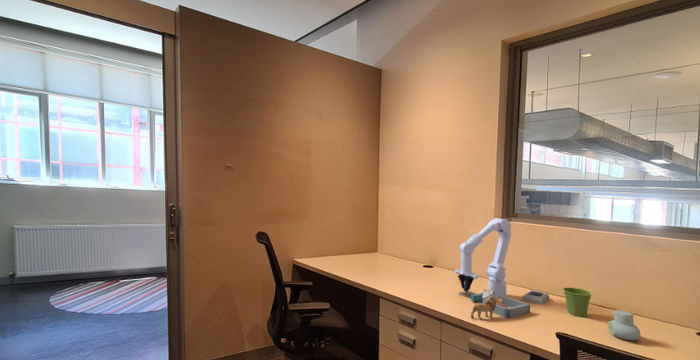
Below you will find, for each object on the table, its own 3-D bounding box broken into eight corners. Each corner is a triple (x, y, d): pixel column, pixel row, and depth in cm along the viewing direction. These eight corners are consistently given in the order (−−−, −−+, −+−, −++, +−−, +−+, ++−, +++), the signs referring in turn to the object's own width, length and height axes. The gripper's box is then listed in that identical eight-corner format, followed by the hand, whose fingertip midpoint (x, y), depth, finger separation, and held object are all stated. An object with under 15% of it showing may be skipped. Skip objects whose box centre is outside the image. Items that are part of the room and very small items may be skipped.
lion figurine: (489, 313, 148) (489, 294, 149) (499, 317, 144) (499, 298, 144) (467, 317, 142) (467, 298, 142) (476, 322, 137) (476, 301, 138)
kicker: (470, 293, 178) (470, 280, 178) (487, 299, 168) (487, 285, 169) (457, 295, 173) (457, 282, 173) (473, 301, 163) (473, 287, 163)
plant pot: (557, 311, 154) (557, 288, 155) (572, 308, 159) (572, 286, 160) (582, 320, 143) (582, 295, 144) (598, 317, 148) (597, 293, 149)
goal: (503, 303, 163) (503, 296, 163) (530, 312, 151) (530, 304, 151) (482, 308, 155) (482, 300, 155) (508, 318, 143) (508, 309, 143)
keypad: (522, 294, 170) (530, 289, 181) (522, 301, 170) (530, 295, 180) (542, 298, 163) (549, 293, 174) (542, 305, 163) (549, 299, 174)
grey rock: (493, 313, 159) (503, 301, 154) (477, 305, 161) (486, 293, 155) (493, 300, 166) (502, 288, 161) (477, 293, 168) (486, 281, 163)
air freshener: (642, 345, 120) (642, 319, 120) (615, 340, 123) (615, 315, 124) (631, 334, 130) (631, 310, 130) (606, 330, 133) (606, 306, 134)
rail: (462, 293, 178) (462, 291, 178) (477, 299, 169) (477, 296, 169) (458, 294, 177) (459, 292, 177) (473, 299, 168) (473, 297, 168)
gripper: (451, 262, 180) (450, 286, 179) (471, 267, 167) (471, 293, 166) (459, 261, 183) (459, 284, 182) (480, 266, 170) (480, 291, 170)
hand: (465, 288), depth 174 cm, fingers closed on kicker, 2 cm apart
